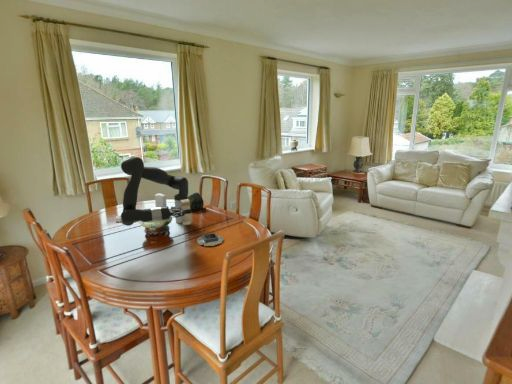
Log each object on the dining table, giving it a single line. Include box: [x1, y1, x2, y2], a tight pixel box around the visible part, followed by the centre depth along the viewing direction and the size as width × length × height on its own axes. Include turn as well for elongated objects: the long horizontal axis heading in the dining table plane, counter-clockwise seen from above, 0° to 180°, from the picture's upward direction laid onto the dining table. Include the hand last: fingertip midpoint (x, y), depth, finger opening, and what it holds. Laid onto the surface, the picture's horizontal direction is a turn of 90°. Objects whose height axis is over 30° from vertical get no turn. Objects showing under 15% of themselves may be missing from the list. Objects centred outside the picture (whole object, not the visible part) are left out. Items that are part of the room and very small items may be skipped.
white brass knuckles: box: [115, 215, 122, 223], centre depth 218 cm, size 3×18×15 cm
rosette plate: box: [196, 232, 224, 247], centre depth 180 cm, size 16×16×3 cm
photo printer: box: [154, 193, 167, 208], centre depth 243 cm, size 10×4×12 cm, turn 60°
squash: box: [188, 192, 205, 211], centre depth 240 cm, size 14×15×15 cm
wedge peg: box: [181, 199, 192, 226], centre depth 170 cm, size 4×4×14 cm
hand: (190, 209), depth 171 cm, fingers closed on wedge peg, 4 cm apart
